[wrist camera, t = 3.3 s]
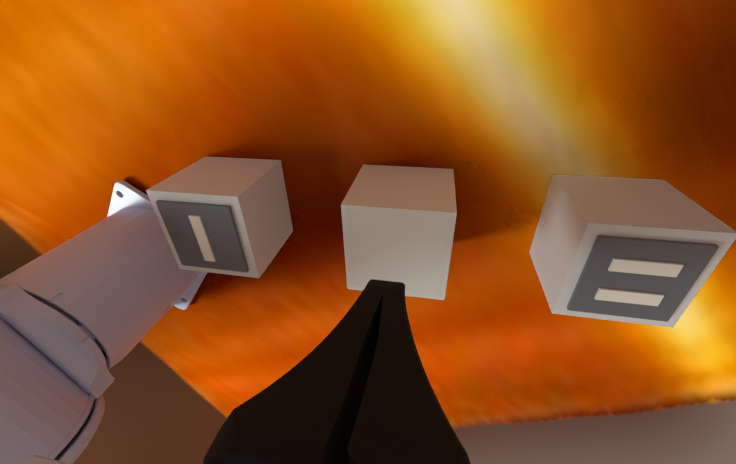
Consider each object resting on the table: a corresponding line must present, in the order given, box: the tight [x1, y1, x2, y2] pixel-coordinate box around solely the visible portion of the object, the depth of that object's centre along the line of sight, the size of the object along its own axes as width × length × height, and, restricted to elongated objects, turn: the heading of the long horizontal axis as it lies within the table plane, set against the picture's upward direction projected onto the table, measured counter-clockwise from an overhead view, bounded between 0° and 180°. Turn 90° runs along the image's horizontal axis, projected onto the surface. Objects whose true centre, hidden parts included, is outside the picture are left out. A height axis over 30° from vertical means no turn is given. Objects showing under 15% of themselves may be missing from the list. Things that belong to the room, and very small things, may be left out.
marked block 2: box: [529, 174, 736, 328], centre depth 15 cm, size 5×5×5 cm
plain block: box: [341, 164, 457, 300], centre depth 17 cm, size 5×5×5 cm
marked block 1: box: [146, 156, 293, 278], centre depth 19 cm, size 5×5×5 cm
